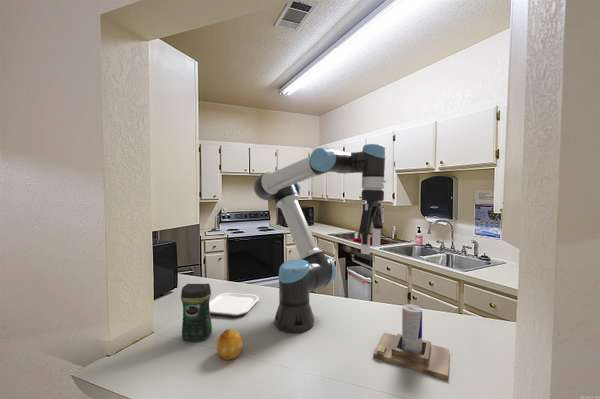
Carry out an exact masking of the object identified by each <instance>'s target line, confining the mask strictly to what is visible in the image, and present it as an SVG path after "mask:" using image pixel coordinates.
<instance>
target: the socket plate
mask: <svg viewBox="0 0 600 399" xmlns="http://www.w3.org/2000/svg"><path fill="white" fill-rule="evenodd" d="M401 347H402V333H401V334H400V333H397V334H392V333H389V332H385V331H384V332H383V333H382V334H381V337H380V339H379V341H378V343H377V346H376V347H375V349H374V351H373V354H372V355H373V358H375V359H379V360H381V361H385V362H388V363H391V364H394V365H398V366H400V367H404V368H407V369H411V370H414V371H417V372H421V373H423V374H427V375H430V376H433V377H435V378H436V377H437V378H440V379H443V380H447V381H449V371H450V370H449V369H450V368H449V366H450V364H449V363H450V360H449V359H450V348H447V347H443V346H439V345H435V344H432V341H429V340H425V339H422V352H424V354H422V355H420V354H416V353H412V352H409V351H405V350H402V348H401Z"/></svg>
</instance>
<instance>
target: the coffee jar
mask: <svg viewBox="0 0 600 399" xmlns="http://www.w3.org/2000/svg"><path fill="white" fill-rule="evenodd" d="M211 296H212V289H211V286H210V283H186V284H185V285H184V286H183V287H182V288H181V292H180V301H181V303H182V324H181V325H182V326H181V327H182V328H181V338H182V340H183V341H185V342H201V341H205V340H206V339H208V338H209V337H210V336H211V334H212V332H213V328H212V327H213V326H212V325H213V324H212V317H211V314H210V309H209V302H210V299H211Z"/></svg>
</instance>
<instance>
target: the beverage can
mask: <svg viewBox="0 0 600 399" xmlns="http://www.w3.org/2000/svg"><path fill="white" fill-rule="evenodd" d="M401 312H402V313H401V314H402V315H401V316H402V319H401V320H402V321H401V323H402V324H401V325H402V326H401V328H402V330H401V332H402V333H401V335H402V345H401V347H402V348H401V349H402V350H405V351H409V352H412V353H416V354H420V355H423V351H422V340H423V309H422V308H421V306H418V305H416V304H410V303H407V304H404V305H402V310H401Z"/></svg>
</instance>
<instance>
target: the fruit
mask: <svg viewBox="0 0 600 399" xmlns="http://www.w3.org/2000/svg"><path fill="white" fill-rule="evenodd" d="M243 348H244V338H243V336H242V334H240V333H239V332H238V331H236V330H235V329H232V328H229V329H226V330H224V331H223V332H222V333H221V334H220V335H219V337H218V339H217V340H216V351H217V353H218V356H219V357H220V358H221V359H223V360H233V359H235V358H237V357H238V356H239V355H240V354H241V353H242V350H243Z"/></svg>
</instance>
